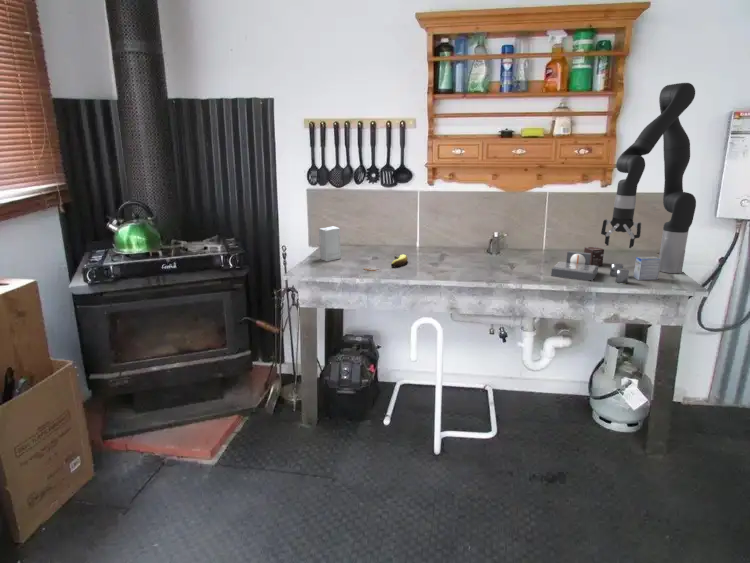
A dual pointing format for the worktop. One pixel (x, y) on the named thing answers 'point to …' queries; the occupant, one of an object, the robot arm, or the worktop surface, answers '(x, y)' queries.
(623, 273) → the spacer
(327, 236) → the skincare box
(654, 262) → the medicine box
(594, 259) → the box
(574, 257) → the dial scale
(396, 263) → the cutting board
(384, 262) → the worktop surface
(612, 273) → the spacer
